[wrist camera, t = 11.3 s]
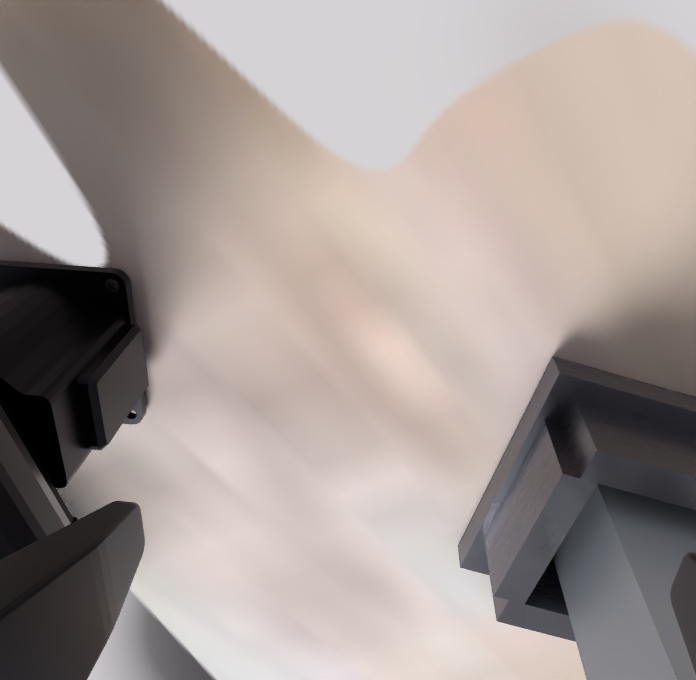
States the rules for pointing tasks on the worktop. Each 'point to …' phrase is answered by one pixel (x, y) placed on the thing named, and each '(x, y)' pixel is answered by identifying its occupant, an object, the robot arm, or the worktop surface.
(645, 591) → the tall grey box
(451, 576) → the worktop surface
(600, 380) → the dark grey tray
